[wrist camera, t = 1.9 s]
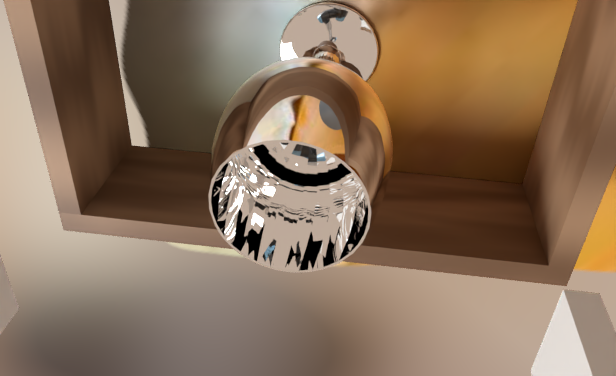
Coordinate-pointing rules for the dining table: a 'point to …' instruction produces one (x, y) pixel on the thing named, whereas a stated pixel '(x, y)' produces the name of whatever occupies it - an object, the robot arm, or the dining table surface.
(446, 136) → the dining table surface
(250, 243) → the wineglass
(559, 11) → the dining table surface
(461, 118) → the dining table surface
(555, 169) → the rectangular wooden frame
